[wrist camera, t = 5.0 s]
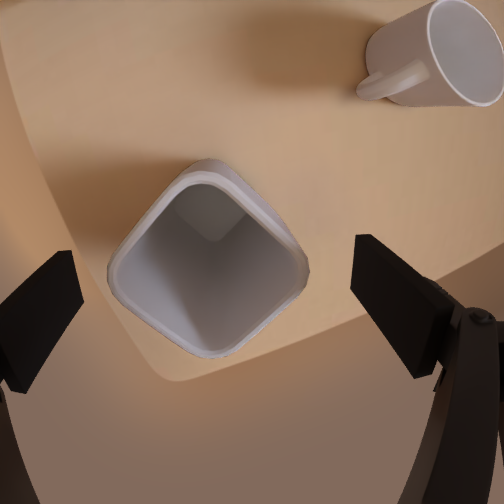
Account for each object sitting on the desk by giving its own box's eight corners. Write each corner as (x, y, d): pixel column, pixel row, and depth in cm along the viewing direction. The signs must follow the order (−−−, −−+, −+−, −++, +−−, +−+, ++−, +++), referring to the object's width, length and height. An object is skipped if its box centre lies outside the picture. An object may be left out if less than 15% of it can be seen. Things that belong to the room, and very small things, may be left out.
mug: (359, 139, 26) (426, 148, 17) (311, 59, 23) (360, 25, 14) (446, 89, 25) (519, 86, 15) (407, 17, 22) (473, -11, 12)
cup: (153, 205, 27) (91, 282, 13) (210, 141, 25) (198, 152, 11) (215, 258, 29) (214, 371, 15) (273, 199, 27) (326, 272, 14)
